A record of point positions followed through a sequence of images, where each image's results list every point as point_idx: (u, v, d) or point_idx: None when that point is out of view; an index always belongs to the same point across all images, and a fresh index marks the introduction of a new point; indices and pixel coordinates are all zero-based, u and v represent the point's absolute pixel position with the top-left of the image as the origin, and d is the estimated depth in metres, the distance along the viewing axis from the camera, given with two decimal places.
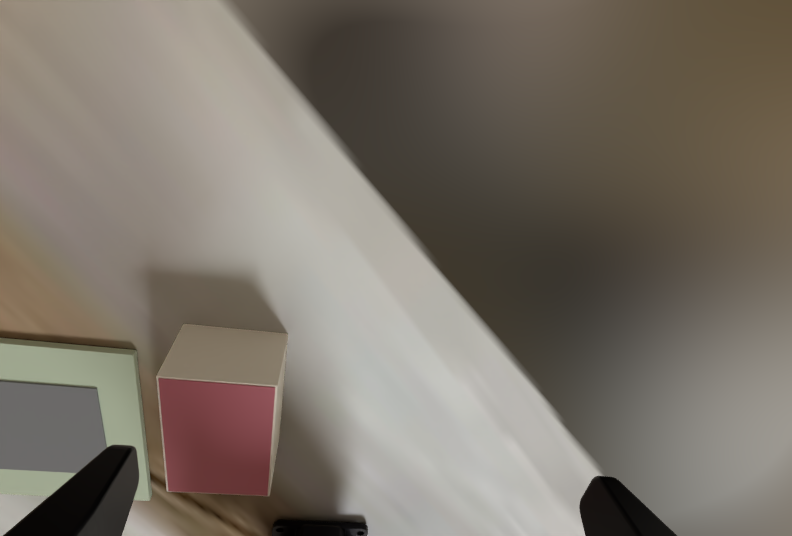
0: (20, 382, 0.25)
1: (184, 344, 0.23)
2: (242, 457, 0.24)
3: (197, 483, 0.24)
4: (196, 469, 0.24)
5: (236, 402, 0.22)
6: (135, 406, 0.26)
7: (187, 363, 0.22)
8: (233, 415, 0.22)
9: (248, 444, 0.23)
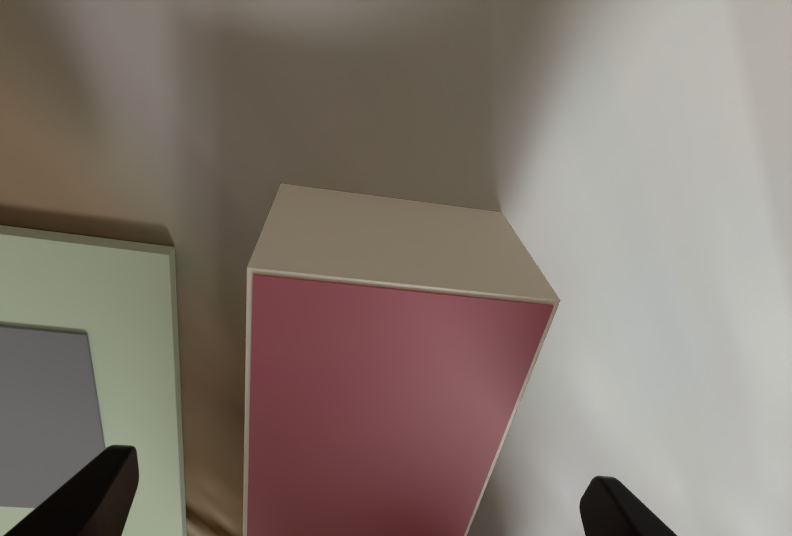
0: None
1: (296, 214, 0.09)
2: (423, 484, 0.10)
3: None
4: (315, 513, 0.11)
5: (445, 347, 0.08)
6: (167, 375, 0.13)
7: (318, 246, 0.08)
8: (428, 383, 0.09)
9: (445, 456, 0.10)
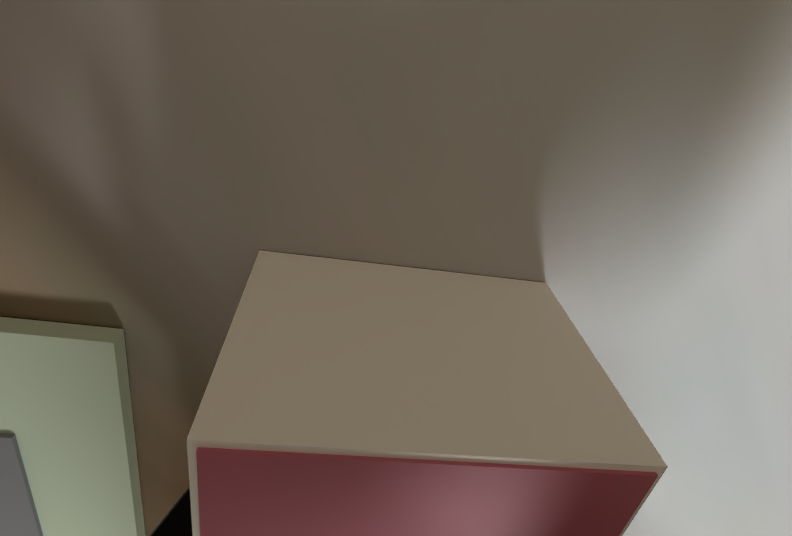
0: None
1: (274, 313, 0.07)
2: None
3: None
4: None
5: (491, 528, 0.06)
6: (121, 479, 0.10)
7: (301, 379, 0.06)
8: None
9: None
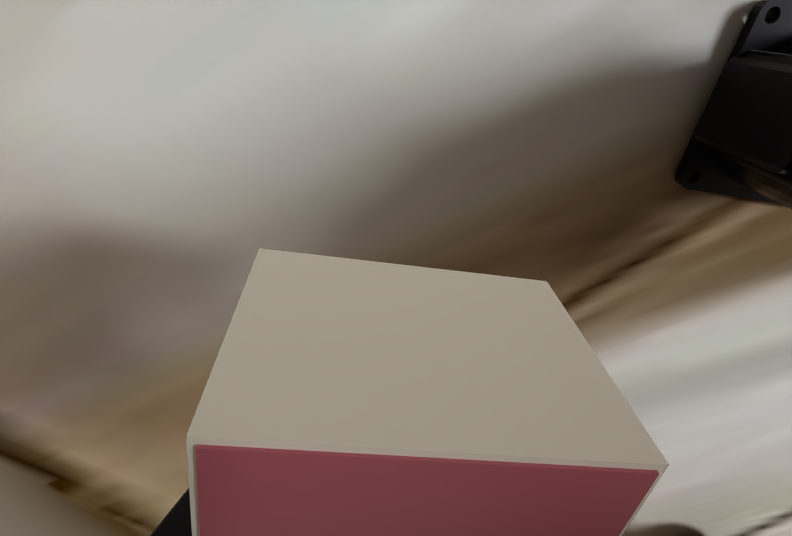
0: None
1: (274, 310, 0.07)
2: None
3: None
4: None
5: (491, 527, 0.06)
6: None
7: (302, 376, 0.06)
8: None
9: None
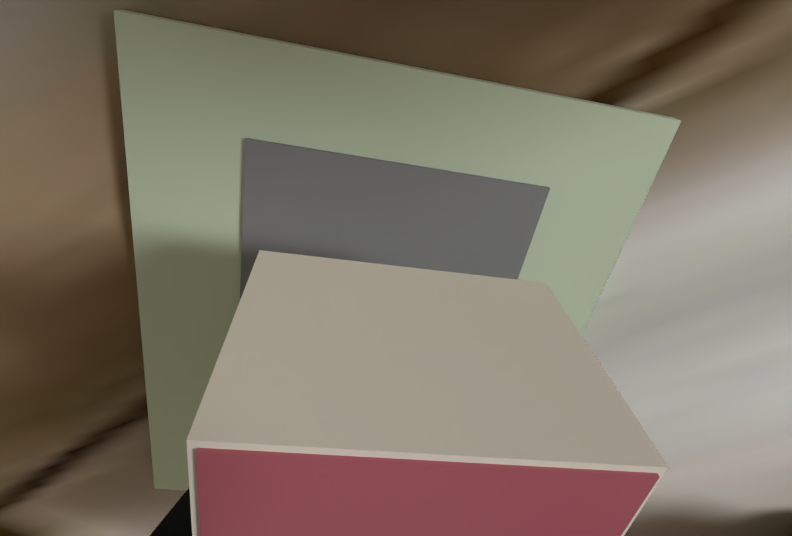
0: (240, 281, 0.12)
1: (274, 312, 0.07)
2: None
3: None
4: None
5: (492, 529, 0.06)
6: (308, 57, 0.10)
7: (302, 379, 0.06)
8: None
9: None
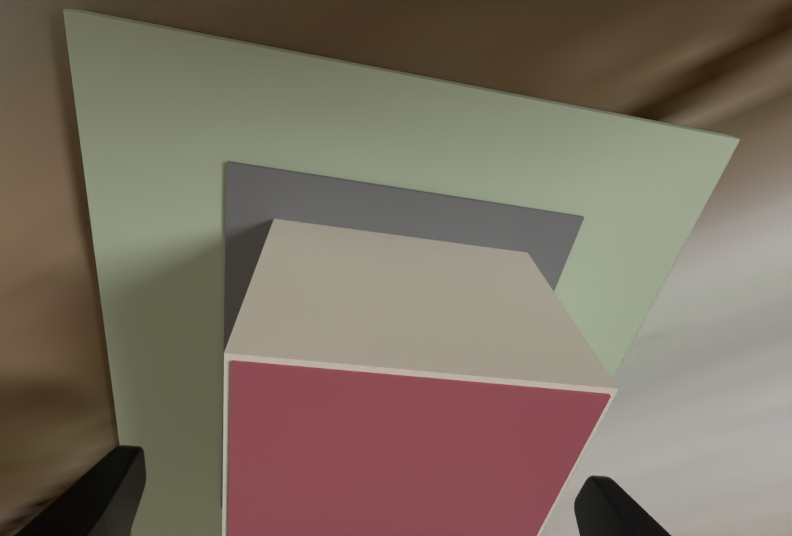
0: (224, 323, 0.10)
1: (290, 266, 0.08)
2: None
3: None
4: None
5: (472, 443, 0.07)
6: (301, 66, 0.08)
7: (315, 315, 0.07)
8: (450, 481, 0.07)
9: None
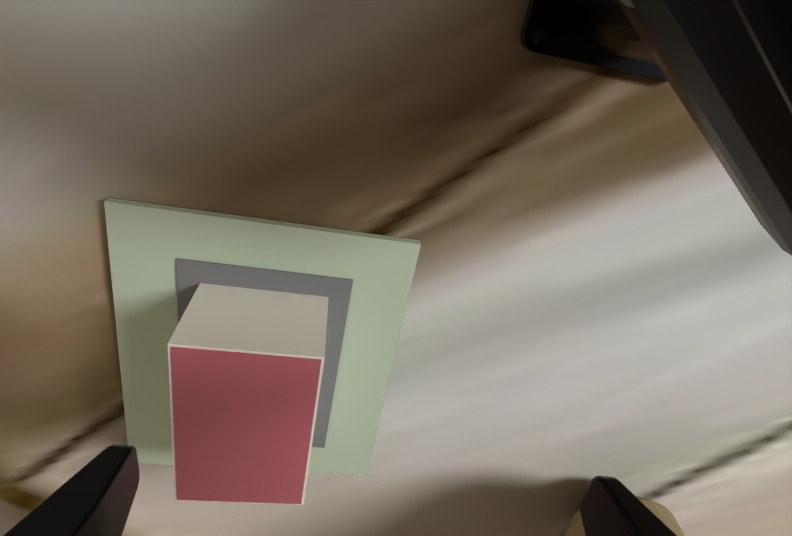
0: None
1: (201, 308, 0.18)
2: (273, 453, 0.19)
3: (214, 489, 0.19)
4: (214, 470, 0.19)
5: (270, 380, 0.17)
6: (208, 219, 0.18)
7: (207, 329, 0.17)
8: (265, 397, 0.17)
9: (282, 437, 0.18)
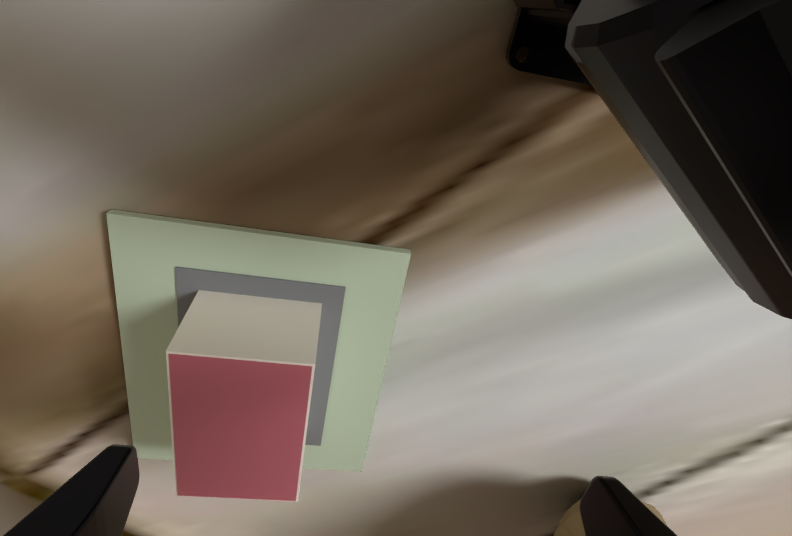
0: None
1: (199, 315, 0.19)
2: (268, 453, 0.20)
3: (212, 486, 0.20)
4: (212, 468, 0.20)
5: (264, 385, 0.18)
6: (205, 230, 0.19)
7: (203, 337, 0.18)
8: (259, 401, 0.18)
9: (276, 438, 0.19)
